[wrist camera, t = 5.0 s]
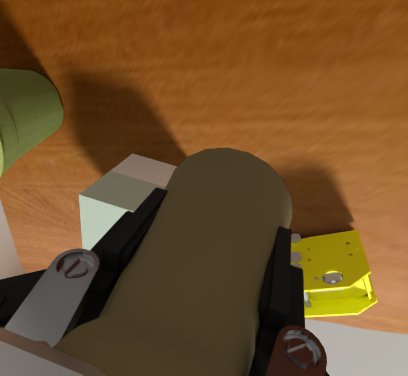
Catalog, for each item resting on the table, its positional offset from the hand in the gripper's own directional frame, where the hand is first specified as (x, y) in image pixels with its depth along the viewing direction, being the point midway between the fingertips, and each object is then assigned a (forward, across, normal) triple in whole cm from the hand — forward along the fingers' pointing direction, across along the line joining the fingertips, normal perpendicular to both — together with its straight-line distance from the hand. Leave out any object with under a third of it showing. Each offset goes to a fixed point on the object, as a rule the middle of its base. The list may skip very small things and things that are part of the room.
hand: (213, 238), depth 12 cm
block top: (+14, +9, +12) cm, 21 cm away
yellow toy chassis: (+19, -7, +15) cm, 26 cm away
